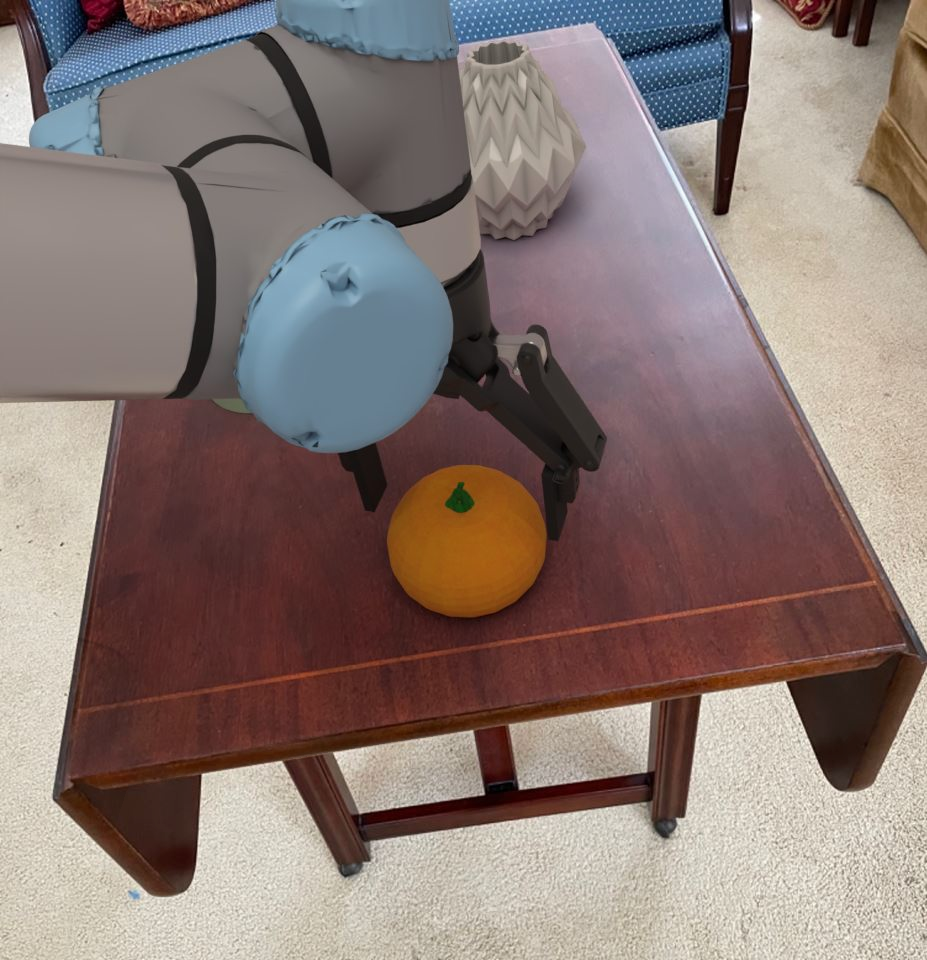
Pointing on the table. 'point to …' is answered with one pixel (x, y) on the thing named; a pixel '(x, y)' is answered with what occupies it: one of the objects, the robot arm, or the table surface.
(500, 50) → the vase
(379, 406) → the robot arm
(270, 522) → the table surface
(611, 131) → the table surface
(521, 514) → the fruit
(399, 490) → the table surface
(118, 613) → the table surface
